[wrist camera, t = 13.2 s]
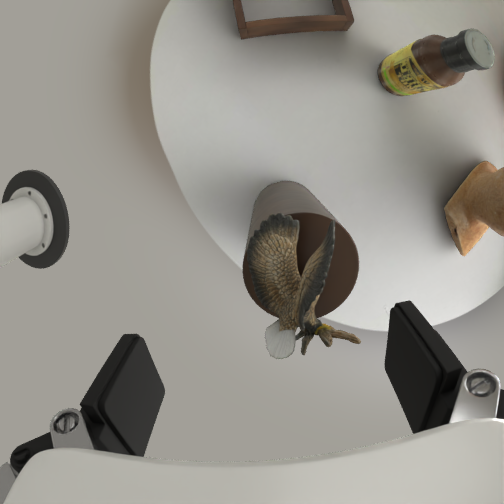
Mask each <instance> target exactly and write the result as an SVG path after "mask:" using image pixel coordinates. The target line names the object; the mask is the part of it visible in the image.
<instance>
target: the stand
mask: <svg viewBox="0 0 504 504" xmlns="http://www.w3.org/2000/svg"><path fill="white" fill-rule="evenodd" d="M278 212H281V213H283V214H284V216H287V215H290V216H291V217H292V218H293V220H298V221H299V234H298V241H297V246H296V255H297V268H298V272H299V275H300V277H302V274H303V271H304V268H305V266H306V263H307V262H308V260H309V259H310V257H311V256H312V255H313V254H314V253H315V251H316V250H317V249H318V248H319V247H320V246H321V244H322V242H323V240H324V239H325V237H326V234H327V231H328V228H329V225H330V222H331V221H332V220H333V219H335V244H334V251H333V254H332V259H331V262H330V267H329V270H328V272H327V277H326V279H325V286H324V287H323V291H322V293H321V294H320V296H319V298H318V301H317V303H316V305H315V307H314V314H315V316H316V318H319V317H322V316H324V315H326V314H328V313H330V312H332V311H333V310H335V309H336V308H337V307H339V306H340V305H341V304H342V303H343V302H344V301H345V300H346V298H347V297H348V296H349V294H350V293H351V291H352V290H353V288H354V285H355V283H356V280H357V277H358V272H359V256H358V251H357V248H356V245H355V243H354V241H353V239H352V237H351V236H350V234H349V233H348V232H347V231H346V229H345V228H344V227H343V226H342V225H341V224H340V223H339V222H338V221H337V220H336V218H335V217H334V216H333V215H332V214H331V213H330V212H329V211H328V210H327V209H326V208H325V207H324V206H323V205H322V204H321V202H320V201H319V200H318V199H317V198H316V197H315V196H314V195H313V194H312V193H311V192H310V191H309V190H308V189H307V188H306V187H304V186H303V185H301V184H299V183H296V182H292V181H280V182H276V183H273V184H271V185H269V186H267V187H266V188H265V189H264V190H262V192H261V193H260V194H259V195H258V197H257V199H256V201H255V204H254V208H253V213H252V218H251V223H250V229H249V234H248V239H247V244H246V250H245V255H244V260H243V278H244V283H245V286H246V288H247V291H248V293H249V294H250V296H251V298H252V299H253V300H254V301H255V303H256V304H257V305H258V306H259V307H261V308H262V309H263V310H265V311H266V312H267V313H269V314H271V315H273V316H275V317H278V318H279V316H277V315H275V313H274V312H271V311H270V310H269V309H267V308H265V306H264V305H262V304H261V301H260V300H259V299H258V297H257V295H256V294H255V290H254V287H255V286H254V285H253V282H252V278H251V276H252V274H251V273H250V271H249V263H248V261H247V256H248V255H247V249H248V248H249V247H248V243H249V241H250V237H251V236H254V230H255V229H258V230H260V224H261V222H262V220H267V219H268V217H269V215H270V214H272V213H273V214H275V215H276V214H277V213H278Z"/></svg>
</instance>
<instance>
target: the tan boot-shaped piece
mask: <svg viewBox="0 0 504 504" xmlns="http://www.w3.org/2000/svg"><path fill="white" fill-rule="evenodd" d="M444 211H445V214H446V220H447V223H448V227H449V229H450V230H451V235H452V238H453V240H454V242H455V244H456V247H457V248H458V250H459V252H460V254H461V255H462V256H465V255H466V254H467V253H468V252H469V251H470V250H471V249H472V248H473V246H474V245H475V244H476V243H477V242H478V241H479V240H480V238H481V237H482V236H483V234H484V233H485V232H486V230H487V229H488V228H489V227H490V228H491V229H493V230H494V231H495V232H497V233H498V234H500V235H501V236H504V167H503V168H501V169H499V170H497V169H496V168H495V167H494V166H493V165H492V164H491V163H489V162H488V161H484V162H481V163H480V164H478V165H477V166H476V167H475V168H474V169H473V170H472V171H471V172H470V174H469V175H468V176H467V178H466V179H465V180H464V182H463V183H462V184H461V185H460V187H459V188H458V190H457V191H456V192H455V194H454V195H453V196H452V198H451V199H450V200H449V201H448V203H447V204H446V206H445V207H444Z"/></svg>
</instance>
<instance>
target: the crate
mask: <svg viewBox="0 0 504 504" xmlns="http://www.w3.org/2000/svg"><path fill="white" fill-rule="evenodd" d="M332 2H333V6H334V9H335V13H336V15H314V16H295V17H283V18H273V19H264V20H256V21H249V22H245V18H244V14H243V9H242V4H241V0H233V5H234V9H235V14H236V19H237V24H238V29H239V33H240V37H241V39H246V38H253V37H260V36H268V35H276V34H286V33H298V32H315V31H347V30H348V29H349V28H350V26H351V25H352V24H353V22H354V18H353V15H352V11H351V8H350V5H349V2H348V0H332Z"/></svg>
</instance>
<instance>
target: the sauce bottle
mask: <svg viewBox="0 0 504 504" xmlns="http://www.w3.org/2000/svg"><path fill="white" fill-rule="evenodd" d="M494 60H495V56H494V51H493V48H492V45H491V44H490V42H489V40H488V39H487V38H486V37H485V36H484V35H483V34H482V33H481V32H480V31H478V30H475V29H468V30H464V31H461V32H460V33H459V34H458V35H457V36H454V37H450V38H445V37H443V36H439V35H430V36H427V37H425V38H423V39H419V40H417V41H415V42H413V43H411V44H409V45H408V46H406V47H404V48H402V49H400V50H398V51H397V52H395V53H393V54H391V55H389V56H388V57H386V58H385V59H384V60H383V61H382V62H381V63H380V64H379V68H378V75H379V80H380V82H381V83H382V85H383V86H384V87H385V89H386V90H387V91H389V92H390V93H392V94H395V95H399V96H404V95H412V94H416V93H421V92H425V91H430V90H434V89H439V88H444V87H448V86H450V85H454V84H456V83H457V82H459V81H460V80H461V79H462V78H463V76H464V74H465V72H468V71H470V70H474V69H477V70H485V69H489V68H491V67H492V65H493V64H494Z"/></svg>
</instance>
